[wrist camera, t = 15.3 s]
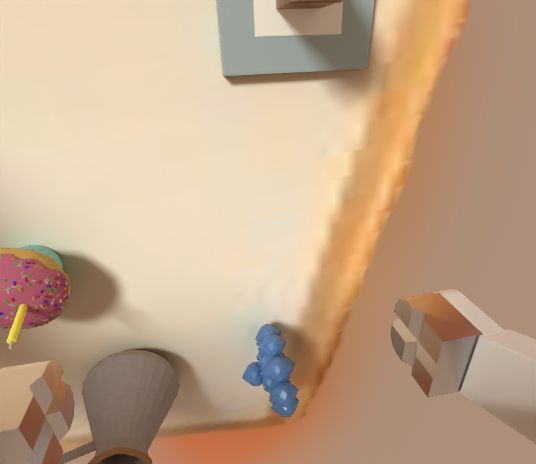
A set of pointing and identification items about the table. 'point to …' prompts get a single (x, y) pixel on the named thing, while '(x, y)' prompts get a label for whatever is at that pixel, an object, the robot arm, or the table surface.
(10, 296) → the cupcake
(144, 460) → the coffee pot
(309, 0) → the walnut block
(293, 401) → the grapes
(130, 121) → the table surface
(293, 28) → the plate
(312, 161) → the table surface
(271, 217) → the table surface
